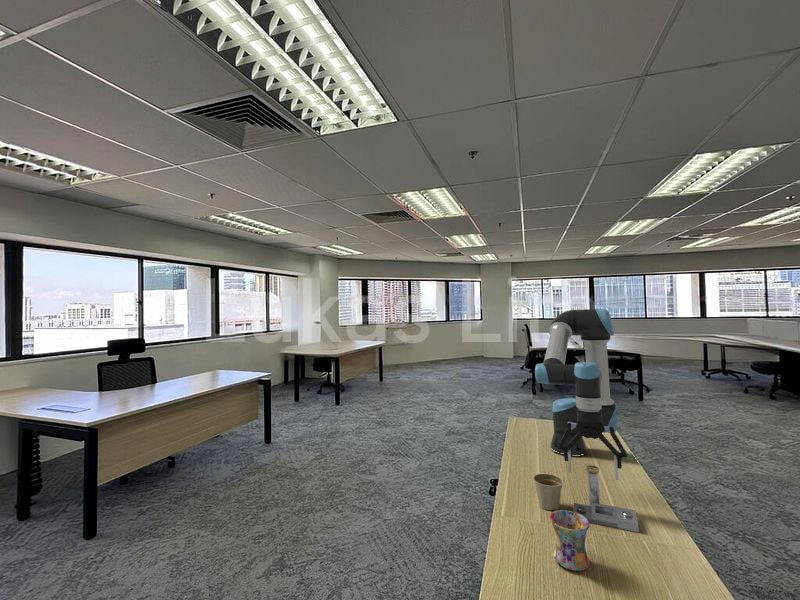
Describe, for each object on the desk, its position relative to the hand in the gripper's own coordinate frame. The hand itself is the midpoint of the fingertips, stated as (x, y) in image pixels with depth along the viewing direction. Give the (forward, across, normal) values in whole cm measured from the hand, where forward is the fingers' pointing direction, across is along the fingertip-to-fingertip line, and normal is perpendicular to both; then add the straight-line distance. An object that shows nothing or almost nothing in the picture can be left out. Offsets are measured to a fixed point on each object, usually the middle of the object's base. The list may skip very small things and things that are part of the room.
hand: (592, 474), depth 120 cm
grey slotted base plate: (+10, +2, -8) cm, 13 cm away
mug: (+11, -6, -32) cm, 34 cm away
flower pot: (+10, -13, -6) cm, 18 cm away
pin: (+10, 0, 0) cm, 10 cm away
